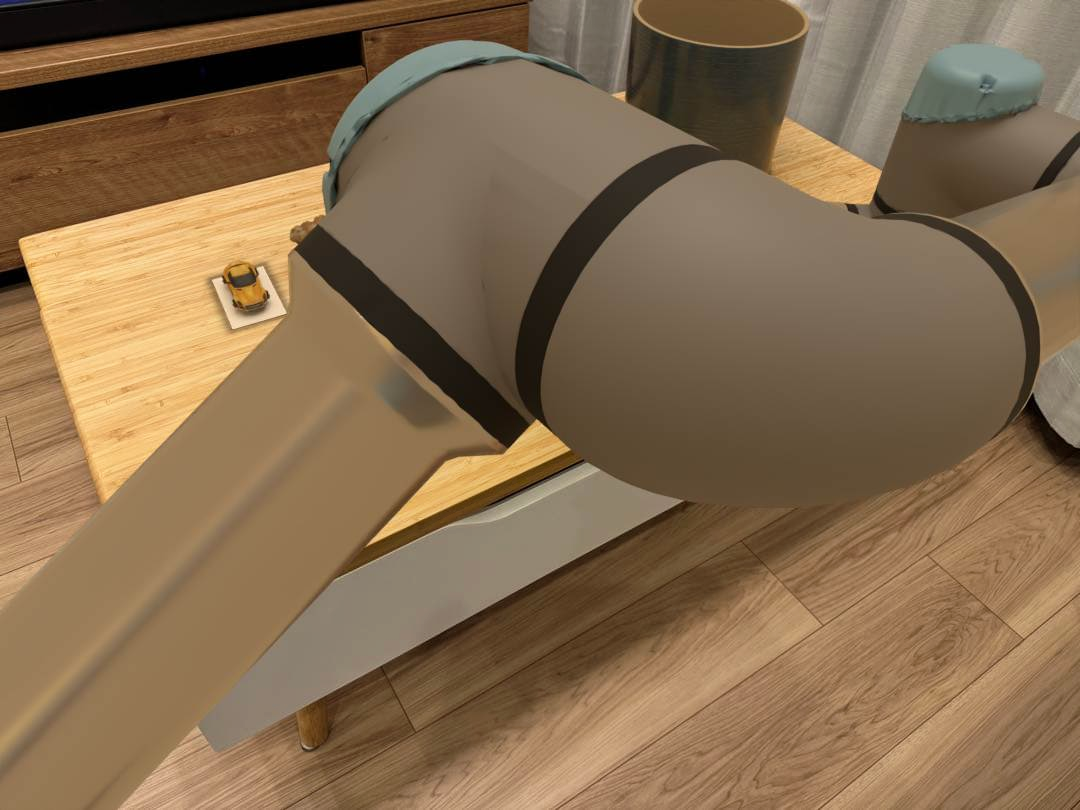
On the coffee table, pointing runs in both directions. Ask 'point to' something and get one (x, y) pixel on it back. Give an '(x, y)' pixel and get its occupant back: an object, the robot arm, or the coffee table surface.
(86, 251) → the coffee table surface
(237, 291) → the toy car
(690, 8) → the planter
